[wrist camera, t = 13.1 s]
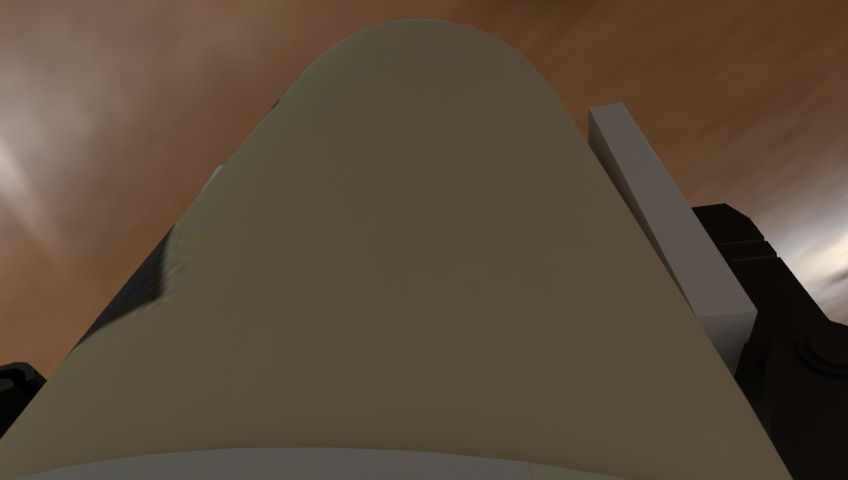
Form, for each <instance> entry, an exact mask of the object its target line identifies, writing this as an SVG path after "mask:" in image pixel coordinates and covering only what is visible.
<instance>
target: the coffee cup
mask: <svg viewBox="0 0 848 480" xmlns="http://www.w3.org/2000/svg"><path fill="white" fill-rule="evenodd" d="M0 480H793V479H792V477H791V475H790V473H789V472H788V470H787V468H786V466H785V465H784V463H783V461H782V459H781V458H780V456H779V454H778V452H777V451H776V449H775V447H774V446H773V444H772V442H771V440H770V439H769V437H768V435H767V433H766V432H765V430H764V428H763V426H762V425H761V423H760V421H759V419H758V418H757V416H756V414H755V412H754V411H753V409H752V407H751V405H750V404H749V402H748V400H747V399H746V397H745V396H744V394H743V392H742V391H741V389H740V387H739V386H738V384H737V383H736V381H735V379H734V378H733V376H732V374H731V373H730V371H729V370H728V368H727V366H726V365H725V363H724V362H723V360H722V358H721V357H720V355H719V353H718V352H717V350H716V349H715V347H714V345H713V344H712V342H711V340H710V339H709V337H708V336H707V334H706V332H705V331H704V329H703V328H702V326H701V324H700V323H699V321H698V319H697V318H696V316H695V315H694V313H693V311H692V310H691V308H690V306H689V305H688V303H687V302H686V300H685V298H684V297H683V295H682V294H681V292H680V290H679V289H678V287H677V285H676V284H675V282H674V281H673V279H672V277H671V276H670V274H669V273H668V271H667V269H666V268H665V266H664V264H663V263H662V261H661V260H660V258H659V256H658V255H657V253H656V251H655V250H654V248H653V247H652V245H651V243H650V242H649V240H648V239H647V237H646V235H645V234H644V232H643V230H642V229H641V227H640V226H639V224H638V222H637V221H636V219H635V217H634V216H633V214H632V213H631V211H630V209H629V208H628V206H627V205H626V203H625V201H624V200H623V198H622V197H621V195H620V194H619V192H618V190H617V189H616V187H615V186H614V184H613V183H612V181H611V179H610V178H609V176H608V175H607V173H606V171H605V170H604V168H603V167H602V165H601V164H600V162H599V160H598V159H597V157H596V156H595V154H594V153H593V151H592V149H591V148H590V146H589V145H588V143H587V141H586V140H585V138H584V137H583V135H582V134H581V132H580V130H579V129H578V127H577V126H576V124H575V122H574V121H573V119H572V118H571V116H570V115H569V113H568V111H567V110H566V108H565V107H564V105H563V104H562V102H561V101H560V99H559V98H558V96H557V95H556V93H555V92H554V91H553V89H552V88H551V87H550V85H549V84H548V82H547V81H546V80H545V78H544V77H543V76H542V74H541V73H540V72H539V71H538V70H537V69H536V68H535V67H534V66H533V65H532V64H531V63H530V61H529V60H528V59H526V58H525V57H524V56H523V55H522V54H520V53H519V52H518V51H517V50H516V49H514V48H513V47H511V46H510V45H508V44H506V43H505V42H503V41H502V40H500V39H498V38H496V37H494V36H492V35H490V34H488V33H486V32H483V31H481V30H478V29H476V28H473V27H471V26H466V25H462V24H458V23H454V22H450V21H442V20H432V19H406V20H400V21H393V22H387V23H383V24H379V25H376V26H372V27H369V28H366V29H364V30H361V31H359V32H356V33H354V34H352V35H350V36H348V37H346V38H345V39H343V40H341V41H339V42H338V43H336V44H335V45H333V46H332V47H330V48H329V49H327V50H326V51H325V52H324V53H323V54H322V55H321V56H319V57H318V58H317V59H316V60H315V61H314V62H313V63H312V64H311V65H310V66H308V68H307V69H306V70H305V71H304V72H303V73H302V74H301V75H300V76H299V77H298V78H297V80H296V81H295V82H294V83H293V84H292V85H291V86H290V87H289V89H288V90H287V91H286V92H285V93H284V94H283V96H282V97H281V98H280V99H279V100H278V102H277V103H276V104H275V105H274V106H273V108H272V109H271V110H270V111H269V112H268V113H267V115H266V116H265V117H264V118H263V119H262V121H261V122H260V123H259V124H258V125H257V127H256V128H255V129H254V130H253V131H252V132H251V134H250V135H249V136H248V137H247V138H246V140H245V141H244V142H243V143H242V144H241V146H240V147H239V148H238V149H237V150H236V151H235V153H234V154H233V155H232V156H231V157H230V159H229V160H228V161H227V162H226V163H225V165H224V166H223V167H222V168H221V169H220V170H219V172H218V173H217V174H216V175H215V176H214V178H213V179H212V180H211V181H210V182H209V184H208V185H207V186H206V187H205V188H204V190H203V191H202V192H201V193H200V194H199V196H198V197H197V198H196V199H195V200H194V202H193V203H192V204H191V205H190V206H189V208H188V209H187V210H186V211H185V213H184V214H183V215H182V216H181V217H180V219H179V220H178V221H177V222H176V223H175V225H174V226H173V227H172V228H171V229H170V231H169V232H168V233H167V234H166V235H165V237H164V238H163V239H162V240H161V242H160V243H159V244H158V245H157V246H156V248H155V249H154V250H153V251H152V252H151V254H150V255H149V256H148V257H147V258H146V260H145V261H144V262H143V263H142V264H141V266H140V267H139V268H138V269H137V271H136V272H135V273H134V274H133V275H132V277H131V278H130V279H129V280H128V281H127V283H126V284H125V285H124V286H123V287H122V289H121V290H120V291H119V292H118V293H117V295H116V296H115V297H114V298H113V300H112V301H111V302H110V303H109V304H108V306H107V307H106V308H105V309H104V311H103V312H102V313H101V314H100V316H99V317H98V318H97V319H96V321H95V322H94V323H93V324H92V326H91V327H90V328H89V329H88V331H87V332H86V333H85V334H84V336H83V337H82V338H81V339H80V341H79V342H78V343H77V344H76V346H75V347H74V348H73V349H72V351H71V352H70V353H69V354H68V356H67V357H66V358H65V359H64V361H63V362H62V363H61V364H60V366H59V367H58V368H57V369H56V371H55V372H54V373H53V374H52V376H51V377H50V378H49V379H48V381H47V382H46V383H45V384H44V386H43V387H42V388H41V389H40V391H39V392H38V393H37V394H36V396H35V397H34V398H33V399H32V401H31V402H30V403H29V404H28V406H27V407H26V408H25V409H24V411H23V412H22V413H21V414H20V416H19V417H18V418H17V419H16V421H15V422H14V423H13V424H12V426H11V427H10V428H9V429H8V431H7V432H6V433H5V434H4V436H3V437H2V438H1V439H0Z"/></svg>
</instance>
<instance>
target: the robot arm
mask: <svg viewBox="0 0 848 480" xmlns="http://www.w3.org/2000/svg"><path fill="white" fill-rule="evenodd" d="M588 145H589V146H590V148H591V149H592V151H593V153H594V154H595V156H596V157H597V159H598V160H599V162H600V164H601V165H602V167H603V168H604V170H605V171H606V173H607V175H608V176H609V178H610V179H611V181H612V183H613V184H614V186H615V187H616V189H617V190H618V192H619V194H620V195H621V197H622V198H623V200H624V201H625V203H626V205H627V206H628V208H629V209H630V211H631V213H632V214H633V216H634V217H635V219H636V221H637V222H638V224H639V226H640V227H641V229H642V230H643V232H644V234H645V235H646V237H647V239H648V240H649V242H650V243H651V245H652V247H653V248H654V250H655V251H656V253H657V255H658V256H659V258H660V260H661V261H662V263H663V264H664V266H665V268H666V269H667V271H668V273H669V274H670V276H671V277H672V279H673V281H674V282H675V284H676V285H677V287H678V289H679V290H680V292H681V294H682V295H683V297H684V298H685V300H686V302H687V303H688V305H689V306H690V308H691V310H692V311H693V313H694V315H695V316H696V318H697V319H698V321H699V323H700V324H701V326H702V328H703V329H704V331H705V332H706V334H707V336H708V337H709V339H710V340H711V342H712V344H713V345H714V347H715V349H716V350H717V352H718V353H719V355H720V357H721V358H722V360H723V362H724V363H725V365H726V366H727V368H728V370H729V371H730V373H731V374H732V376H733V378H734V379H735V381H736V383H737V384H738V386H739V387H740V389H741V391H742V392H743V394H744V396H745V397H746V399H747V400H748V402H749V404H750V405H751V407H752V409H753V411H754V412H755V414H756V416H757V418H758V419H759V421H760V423H761V425H762V426H763V428H764V430H765V432H766V433H767V435H768V437H769V439H770V440H771V442H772V444H773V446H774V447H775V449H776V451H777V452H778V454H779V456H780V458H781V459H782V461H783V463H784V465H785V466H786V468H787V470H788V472H789V473H790V475H791V477H792V479H793V480H848V326H847V325H843V324H840V323H837V322H833V321H830V320H829V319H828V318H827V317H826V315H825V314H824V313H823V312H822V310H821V309H820V308H819V307H818V305H817V304H816V303H815V301H814V300H813V299H812V298H811V296H810V295H809V294H808V292H807V291H806V290H805V289H804V287H803V286H802V285H801V283H800V282H799V281H798V280H797V278H796V277H795V276H794V275H793V273H792V272H791V271H790V269H789V268H788V267H787V266H786V264H785V263H784V262H783V260H782V259H781V258H780V257H777V253H776V251H775V250H774V249H773V248H772V246H771V245H770V244H769V243H768V241H765V240H764V236H763V235H762V234H761V232H760V231H759V230H758V228H757V227H756V226H755V225H754V223H753V222H752V221H751V219H750V218H748V217H747V216H745V215H743V214H742V213H740V212H738V211H737V210H735V209H734V208H732V207H730V206H729V205H727V204H725V203H724V204H716V205H708V206H700V207H692V208H691V207H690V206H689V204H688V203H687V201H686V200H685V198H684V197H683V195H682V194H681V192H680V190H679V189H678V187H677V186H676V184H675V183H674V181H673V180H672V178H671V177H670V175H669V173H668V172H667V170H666V169H665V167H664V166H663V164H662V163H661V161H660V160H659V158H658V156H657V155H656V153H655V152H654V150H653V149H652V147H651V146H650V144H649V143H648V141H647V139H646V138H645V136H644V135H643V133H642V132H641V130H640V129H639V127H638V126H637V124H636V122H635V121H634V119H633V118H632V116H631V115H630V113H629V112H628V110H627V109H626V107H625V106H624V104H623V102H622V103H616V104H609V105H603V106H597V107H590V108H589V135H588ZM223 166H224V165H221V166H218V167H217V169H216V170H215V172H214V173H213V175H212V176H211V178H210V179H209V181H208V182H207V184H206V185H205V187H206V186H207V185H208V184H209V182H210V181H211V180H212V179H213V178H214V176H215V175H216V174H217V173H218V172H219V170H220V169H221V168H222V167H223ZM205 187H204V188H205ZM204 188H203V190H204ZM203 190H202V191H203ZM202 191H201V192H202ZM198 196H199V195H198ZM46 382H47V380H46V379H45V378H44V377H43V376H42V375H41V374H39V373H38V372H37V371H36V370H35V369H34V368H33V367H32V366H30V365H29V364H28V363H24V362H14V363H10V364H7V365H3V366H0V439H1V438H2V437H3V436H4V434H5V433H6V432H7V431H8V429H9V428H10V427H11V426H12V424H13V423H14V422H15V421H16V419H17V418H18V417H19V416H20V414H21V413H22V412H23V411H24V409H25V408H26V407H27V406H28V404H29V403H30V402H31V401H32V399H33V398H34V397H35V396H36V394H37V393H38V392H39V391H40V389H41V388H42V387H43V386H44V384H45V383H46Z"/></svg>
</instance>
